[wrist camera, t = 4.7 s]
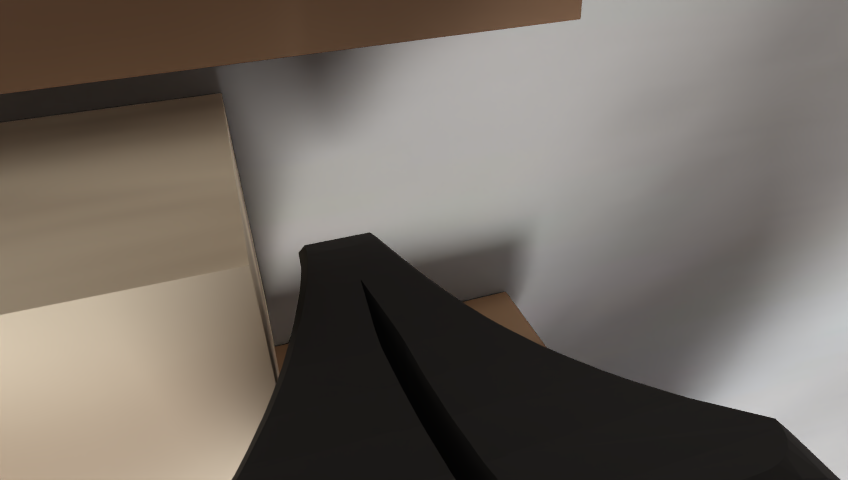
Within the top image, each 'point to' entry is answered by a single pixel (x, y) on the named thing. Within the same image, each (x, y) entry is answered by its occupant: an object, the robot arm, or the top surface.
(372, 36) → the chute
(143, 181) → the block
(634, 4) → the top surface
